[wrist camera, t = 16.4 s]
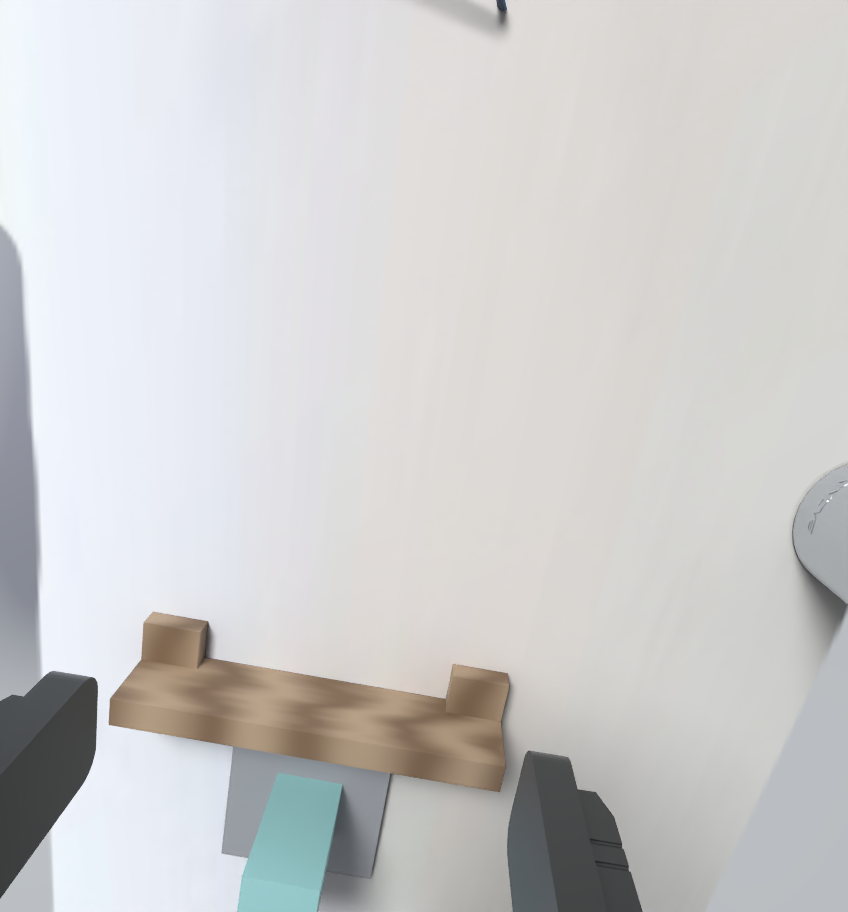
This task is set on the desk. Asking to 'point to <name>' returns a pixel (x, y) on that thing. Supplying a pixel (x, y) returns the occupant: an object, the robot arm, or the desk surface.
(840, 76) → the desk surface
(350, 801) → the grey mat
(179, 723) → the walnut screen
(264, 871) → the teal block
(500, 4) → the sunglasses
